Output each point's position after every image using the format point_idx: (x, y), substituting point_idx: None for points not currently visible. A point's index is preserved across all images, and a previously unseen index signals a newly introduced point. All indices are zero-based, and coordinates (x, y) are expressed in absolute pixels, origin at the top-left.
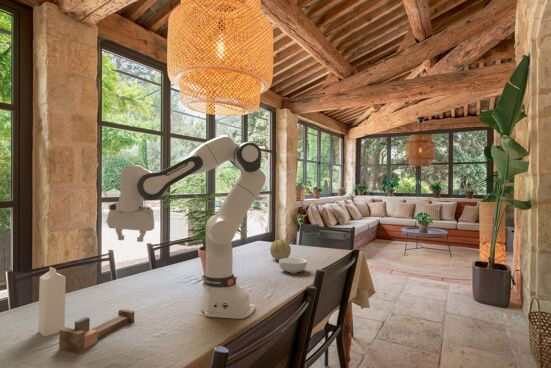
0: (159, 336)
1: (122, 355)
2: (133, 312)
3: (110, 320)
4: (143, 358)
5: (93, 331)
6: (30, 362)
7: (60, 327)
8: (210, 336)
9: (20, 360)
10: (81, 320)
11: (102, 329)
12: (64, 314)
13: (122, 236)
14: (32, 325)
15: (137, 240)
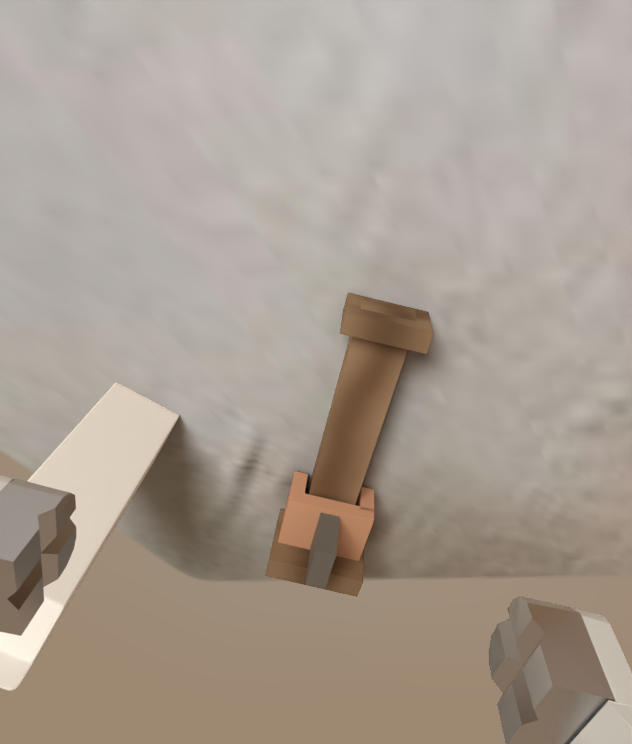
0: (602, 430)
1: (505, 544)
2: (430, 337)
3: (344, 391)
4: (582, 555)
5: (363, 524)
6: (256, 577)
7: (168, 435)
8: None
9: (220, 570)
10: (321, 574)
11: (363, 467)
12: (154, 456)
13: (19, 578)
14: (14, 384)
15: (498, 674)
